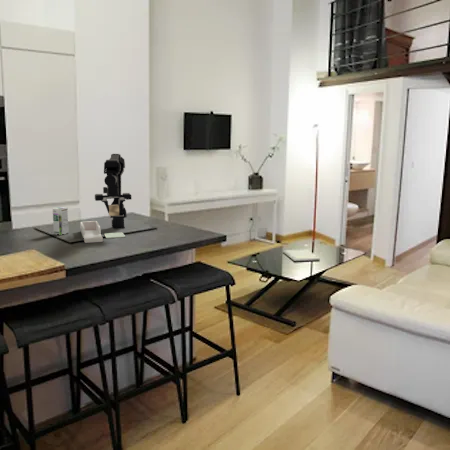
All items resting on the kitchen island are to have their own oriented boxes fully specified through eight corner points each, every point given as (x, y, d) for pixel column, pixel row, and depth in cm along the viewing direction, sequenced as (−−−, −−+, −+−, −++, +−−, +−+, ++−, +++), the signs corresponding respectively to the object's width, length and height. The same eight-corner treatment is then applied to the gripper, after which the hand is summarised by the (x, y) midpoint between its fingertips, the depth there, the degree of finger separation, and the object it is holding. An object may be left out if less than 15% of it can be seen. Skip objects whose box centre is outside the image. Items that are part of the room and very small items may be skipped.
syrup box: (53, 234, 255) (51, 208, 252) (61, 232, 260) (60, 206, 257) (60, 235, 252) (59, 209, 249) (69, 233, 257) (67, 207, 254)
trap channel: (97, 230, 266) (96, 220, 264) (102, 241, 241) (102, 231, 240) (80, 231, 262) (80, 221, 261) (84, 242, 238) (84, 232, 237)
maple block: (118, 213, 253) (117, 204, 252) (119, 215, 249) (119, 206, 248) (108, 214, 252) (108, 205, 251) (109, 215, 247) (109, 206, 246)
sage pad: (122, 233, 260) (122, 232, 260) (125, 237, 251) (125, 236, 251) (104, 234, 256) (104, 233, 256) (106, 238, 247) (106, 237, 247)
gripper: (127, 181, 258) (128, 209, 262) (93, 182, 252) (94, 210, 255) (131, 184, 248) (132, 212, 251) (95, 185, 241) (96, 214, 245)
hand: (113, 212), depth 251 cm, fingers closed on maple block, 5 cm apart
